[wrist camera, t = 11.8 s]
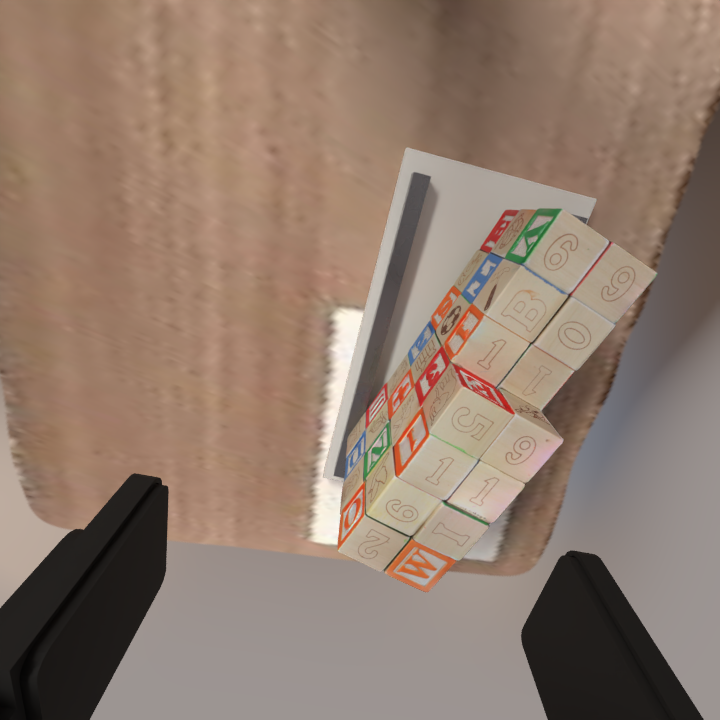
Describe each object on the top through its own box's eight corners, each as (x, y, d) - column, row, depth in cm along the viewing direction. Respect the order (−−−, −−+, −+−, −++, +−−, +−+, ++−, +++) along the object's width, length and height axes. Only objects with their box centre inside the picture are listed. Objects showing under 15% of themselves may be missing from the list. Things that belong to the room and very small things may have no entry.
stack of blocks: (503, 205, 28) (599, 203, 16) (574, 254, 29) (713, 285, 17) (346, 438, 34) (334, 555, 23) (408, 471, 35) (427, 599, 24)
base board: (404, 150, 29) (408, 144, 26) (586, 199, 30) (608, 198, 27) (324, 467, 39) (321, 487, 36) (464, 497, 40) (471, 519, 37)
